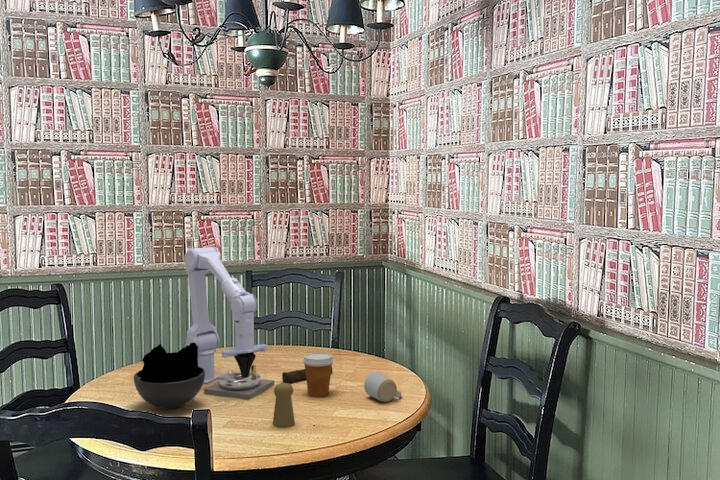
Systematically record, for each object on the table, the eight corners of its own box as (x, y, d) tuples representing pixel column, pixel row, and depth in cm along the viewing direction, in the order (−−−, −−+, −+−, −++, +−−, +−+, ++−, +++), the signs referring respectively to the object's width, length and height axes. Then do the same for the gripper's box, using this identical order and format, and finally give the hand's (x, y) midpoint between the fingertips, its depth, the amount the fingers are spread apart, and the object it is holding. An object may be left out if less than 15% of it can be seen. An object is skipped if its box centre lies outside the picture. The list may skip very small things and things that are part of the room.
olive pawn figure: (273, 420, 184) (272, 381, 183) (295, 419, 185) (294, 380, 184) (272, 428, 178) (271, 387, 177) (294, 427, 179) (294, 387, 178)
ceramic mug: (378, 405, 197) (378, 379, 196) (363, 397, 204) (363, 372, 203) (407, 399, 203) (407, 374, 202) (391, 392, 210) (392, 368, 209)
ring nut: (210, 387, 208) (210, 366, 207) (233, 376, 220) (232, 356, 219) (247, 391, 203) (247, 371, 203) (267, 380, 215) (267, 360, 215)
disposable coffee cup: (309, 400, 201) (309, 361, 200) (298, 391, 210) (298, 353, 209) (338, 396, 205) (338, 357, 204) (326, 387, 214) (326, 350, 213)
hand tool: (287, 385, 217) (287, 371, 216) (281, 382, 220) (281, 368, 220) (336, 376, 227) (336, 363, 227) (330, 373, 231) (330, 360, 230)
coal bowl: (121, 417, 186) (119, 350, 185) (153, 394, 206) (151, 334, 204) (190, 420, 184) (188, 353, 182) (215, 397, 203) (214, 336, 202)
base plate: (204, 393, 207) (203, 388, 207) (231, 379, 222) (231, 374, 222) (249, 399, 201) (249, 394, 201) (274, 384, 216) (274, 379, 216)
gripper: (228, 339, 198) (229, 384, 200) (271, 333, 207) (271, 375, 208) (218, 335, 204) (219, 378, 205) (260, 329, 213) (261, 370, 214)
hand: (245, 377), depth 207 cm, fingers closed
